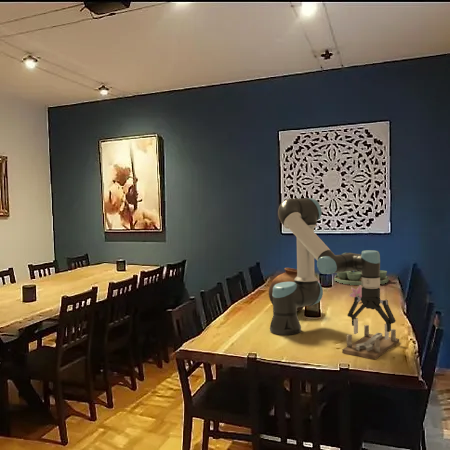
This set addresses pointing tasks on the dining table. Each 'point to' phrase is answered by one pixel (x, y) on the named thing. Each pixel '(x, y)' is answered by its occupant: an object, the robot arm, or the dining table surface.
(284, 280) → the pottery
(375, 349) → the rack
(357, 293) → the lily
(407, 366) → the dining table surface
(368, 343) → the adjustable wrench
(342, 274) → the tea set
